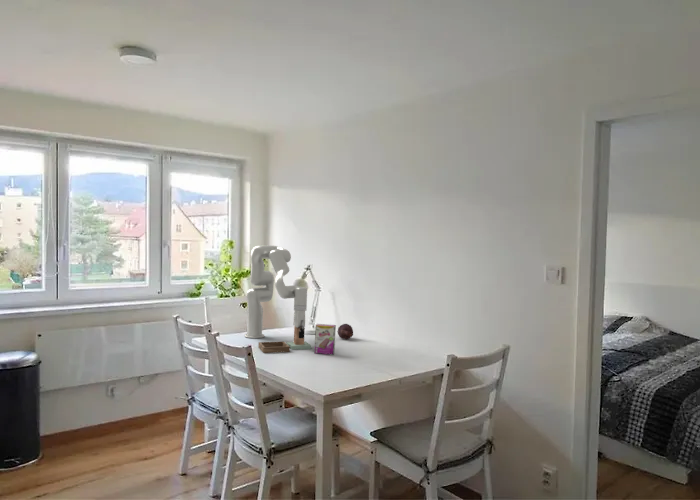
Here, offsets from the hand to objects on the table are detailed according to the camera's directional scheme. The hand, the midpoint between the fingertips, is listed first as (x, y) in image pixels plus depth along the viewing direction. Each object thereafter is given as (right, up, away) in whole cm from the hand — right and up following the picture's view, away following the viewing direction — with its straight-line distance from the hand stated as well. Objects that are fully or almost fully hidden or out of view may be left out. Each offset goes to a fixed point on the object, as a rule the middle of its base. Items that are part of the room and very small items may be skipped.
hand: (299, 336), depth 311 cm
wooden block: (0, -4, 0) cm, 4 cm away
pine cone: (+27, -7, +31) cm, 41 cm away
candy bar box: (+16, -8, -14) cm, 22 cm away
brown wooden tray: (-14, -6, -9) cm, 18 cm away
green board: (0, -6, 0) cm, 6 cm away
